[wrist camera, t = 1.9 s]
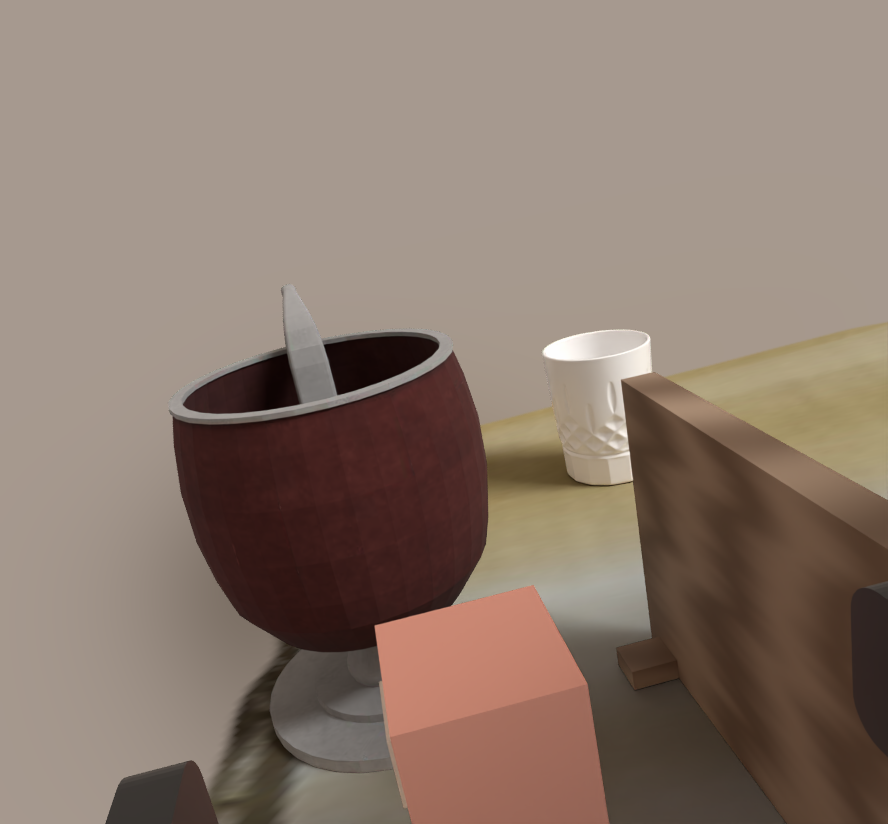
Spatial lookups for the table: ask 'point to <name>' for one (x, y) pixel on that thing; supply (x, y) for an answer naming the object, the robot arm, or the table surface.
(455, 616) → the marked block
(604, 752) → the table surface
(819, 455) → the table surface
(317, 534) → the mate gourd
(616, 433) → the white cup
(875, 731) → the robot arm
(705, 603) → the walnut screen
